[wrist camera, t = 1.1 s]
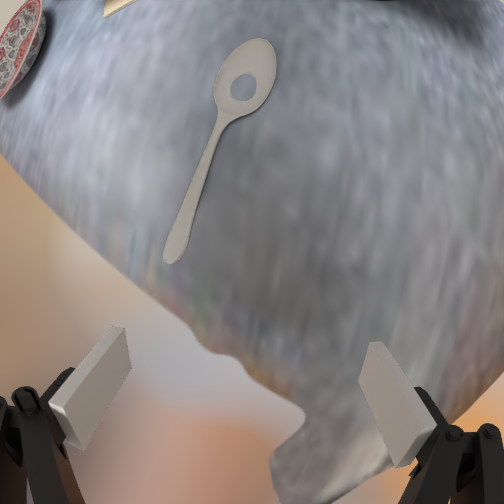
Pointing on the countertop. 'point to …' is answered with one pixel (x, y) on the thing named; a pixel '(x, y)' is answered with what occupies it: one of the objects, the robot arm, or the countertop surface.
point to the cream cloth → (115, 6)
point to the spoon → (223, 127)
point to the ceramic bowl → (21, 44)
